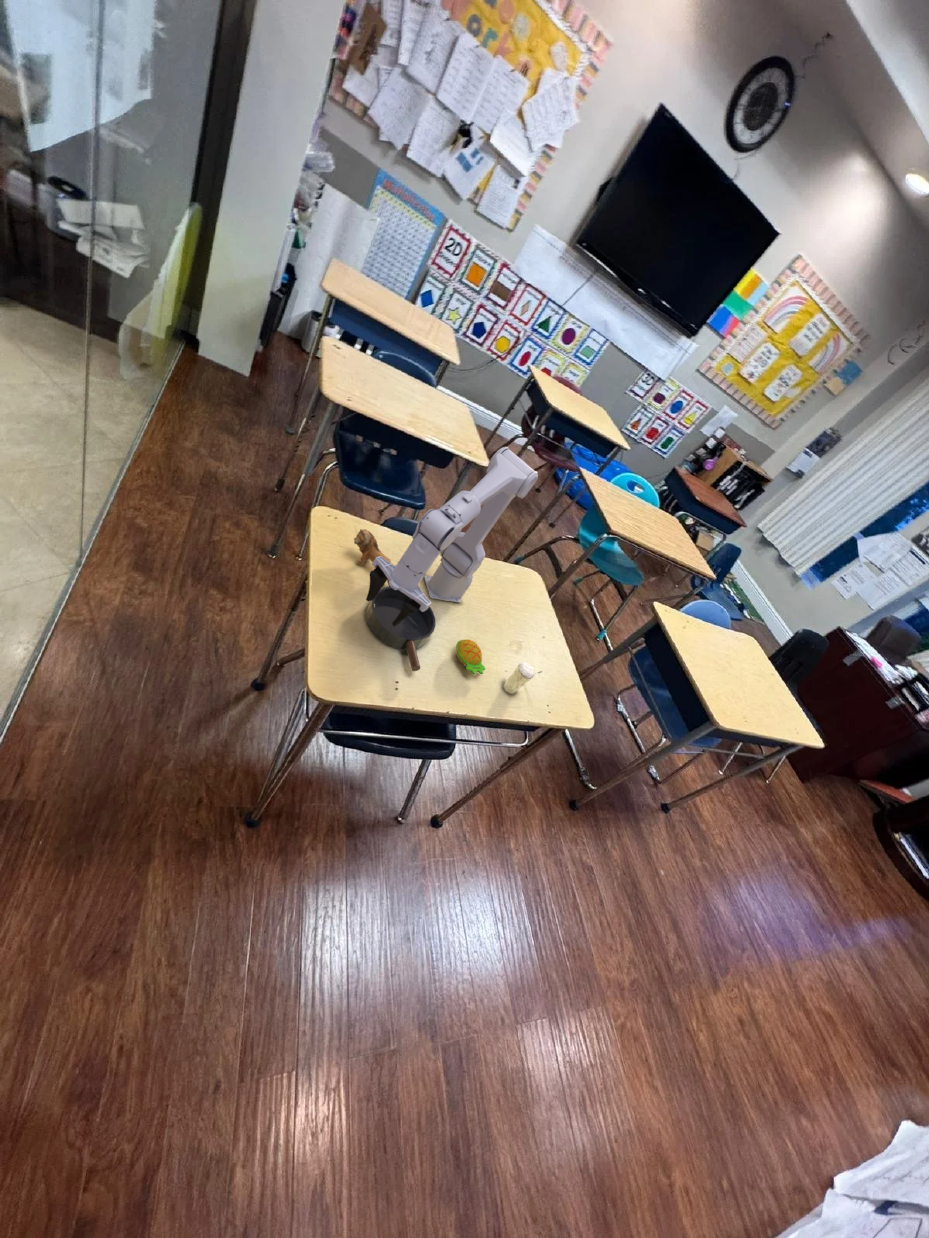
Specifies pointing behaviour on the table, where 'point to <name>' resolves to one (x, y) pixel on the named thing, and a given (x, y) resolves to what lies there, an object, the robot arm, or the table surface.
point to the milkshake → (519, 677)
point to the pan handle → (411, 655)
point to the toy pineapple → (470, 655)
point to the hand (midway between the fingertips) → (382, 611)
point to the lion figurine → (368, 547)
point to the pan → (408, 629)
